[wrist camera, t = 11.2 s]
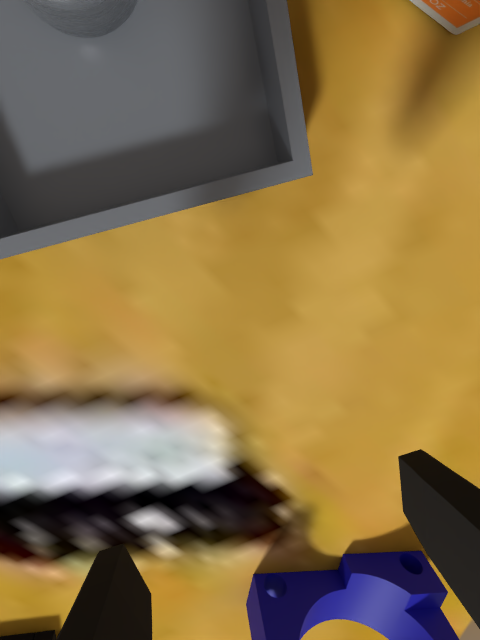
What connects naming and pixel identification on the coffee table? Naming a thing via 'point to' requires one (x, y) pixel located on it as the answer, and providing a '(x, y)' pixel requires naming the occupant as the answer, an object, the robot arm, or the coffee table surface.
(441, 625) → the cable clip
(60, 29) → the cell
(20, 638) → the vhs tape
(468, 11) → the skincare box
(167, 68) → the grey tray
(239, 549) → the coffee table surface
